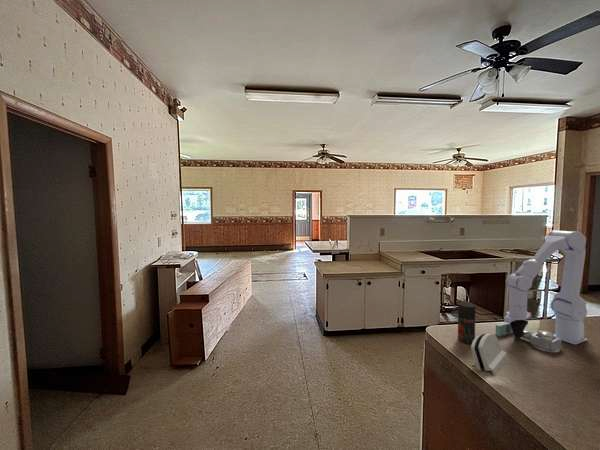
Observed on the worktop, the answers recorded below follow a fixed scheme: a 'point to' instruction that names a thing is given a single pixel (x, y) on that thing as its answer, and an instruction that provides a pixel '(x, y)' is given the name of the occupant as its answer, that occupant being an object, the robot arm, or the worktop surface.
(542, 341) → the elbow
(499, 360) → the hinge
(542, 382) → the worktop surface
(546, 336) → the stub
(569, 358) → the worktop surface
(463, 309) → the deodorant
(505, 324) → the pale teal rectangular bar
